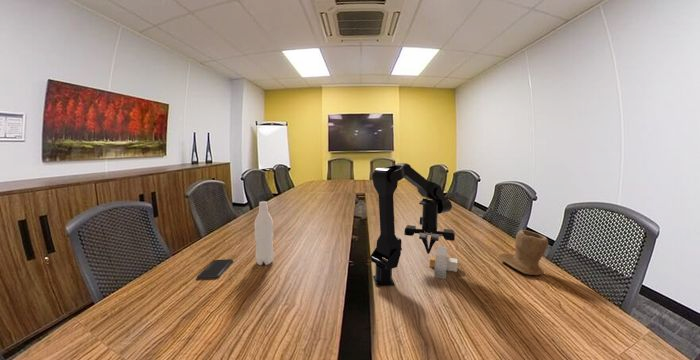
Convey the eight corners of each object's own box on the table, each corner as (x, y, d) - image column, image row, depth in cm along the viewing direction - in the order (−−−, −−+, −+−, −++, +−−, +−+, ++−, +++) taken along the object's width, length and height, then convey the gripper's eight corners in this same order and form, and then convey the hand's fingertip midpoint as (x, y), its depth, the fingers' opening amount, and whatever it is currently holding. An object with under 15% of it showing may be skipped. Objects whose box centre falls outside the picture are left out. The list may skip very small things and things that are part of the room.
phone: (233, 259, 106) (218, 276, 91) (233, 261, 106) (218, 279, 92) (213, 259, 106) (195, 277, 91) (214, 262, 106) (195, 280, 91)
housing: (434, 277, 94) (434, 263, 93) (436, 256, 112) (437, 245, 112) (446, 279, 92) (446, 265, 92) (446, 258, 111) (446, 246, 110)
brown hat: (553, 277, 95) (557, 237, 93) (523, 278, 94) (526, 237, 92) (523, 260, 110) (525, 225, 108) (496, 260, 109) (498, 225, 107)
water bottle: (268, 267, 101) (266, 204, 98) (251, 265, 102) (249, 203, 99) (277, 260, 108) (275, 200, 105) (261, 258, 109) (259, 200, 106)
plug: (429, 267, 102) (430, 258, 101) (430, 263, 105) (430, 255, 105) (457, 271, 98) (457, 262, 98) (456, 267, 102) (457, 258, 102)
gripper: (454, 212, 106) (453, 249, 108) (408, 209, 113) (407, 243, 114) (455, 219, 96) (453, 259, 97) (404, 214, 102) (403, 252, 104)
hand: (428, 253), depth 104 cm, fingers closed
